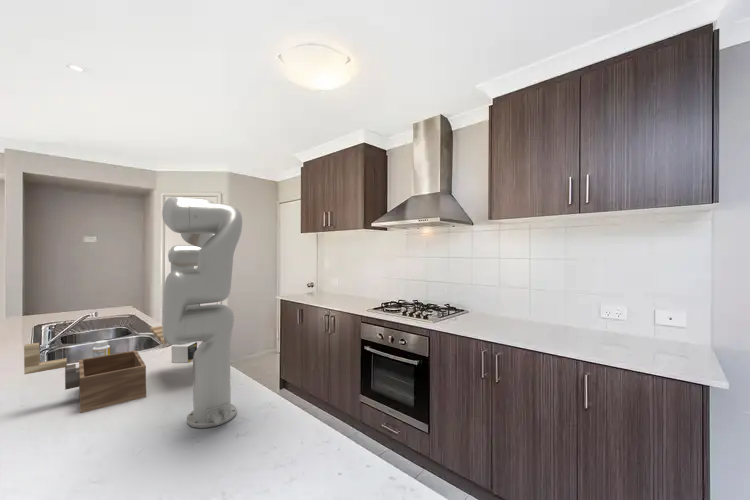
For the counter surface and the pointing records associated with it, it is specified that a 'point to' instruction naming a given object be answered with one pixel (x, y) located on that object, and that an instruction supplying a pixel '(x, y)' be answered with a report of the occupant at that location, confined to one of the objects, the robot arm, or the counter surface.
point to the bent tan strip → (33, 360)
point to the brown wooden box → (107, 379)
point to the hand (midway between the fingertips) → (182, 328)
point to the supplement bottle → (101, 348)
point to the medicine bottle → (183, 352)
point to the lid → (158, 333)
